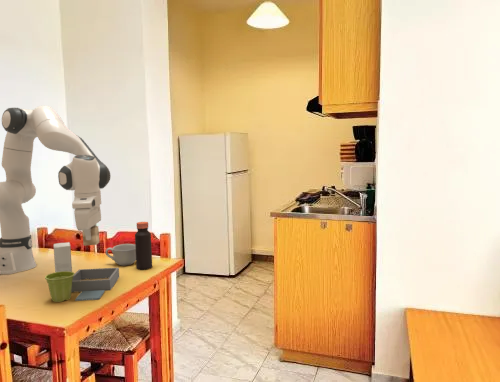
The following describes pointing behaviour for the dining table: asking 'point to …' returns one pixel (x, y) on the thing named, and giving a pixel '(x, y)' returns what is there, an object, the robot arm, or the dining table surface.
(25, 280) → the dining table surface
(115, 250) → the teacup
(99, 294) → the pad
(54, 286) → the plant pot
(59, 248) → the small box
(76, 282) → the bin
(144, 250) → the bottle
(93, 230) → the block
